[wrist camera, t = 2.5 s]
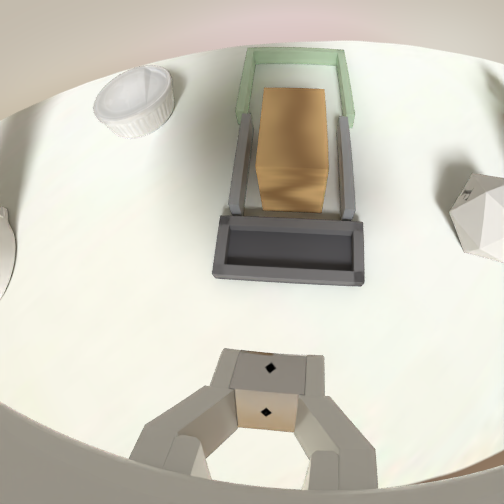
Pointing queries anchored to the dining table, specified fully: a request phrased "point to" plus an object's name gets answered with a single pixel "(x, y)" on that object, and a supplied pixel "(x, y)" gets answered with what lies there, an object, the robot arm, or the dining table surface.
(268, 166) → the oak brick
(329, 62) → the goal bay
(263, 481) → the dining table surface
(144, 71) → the ramekin
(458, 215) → the die
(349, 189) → the tunnel rails
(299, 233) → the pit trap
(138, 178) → the dining table surface
